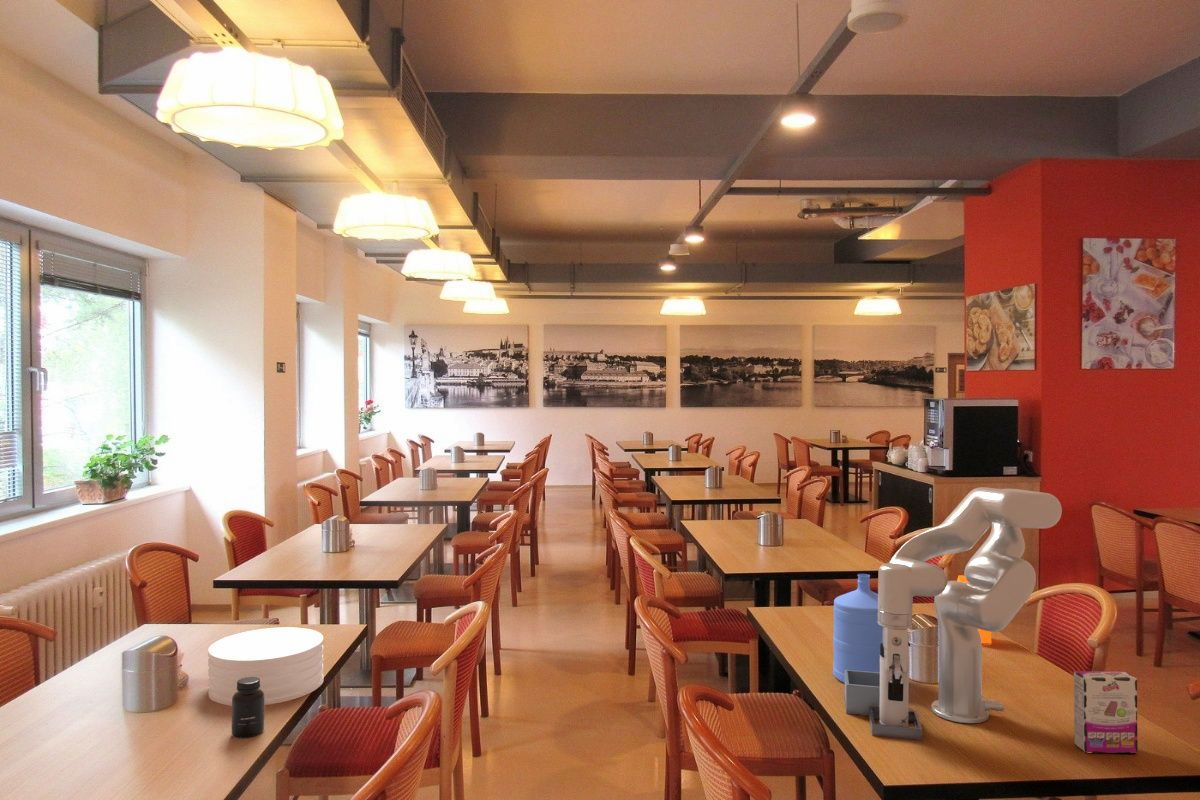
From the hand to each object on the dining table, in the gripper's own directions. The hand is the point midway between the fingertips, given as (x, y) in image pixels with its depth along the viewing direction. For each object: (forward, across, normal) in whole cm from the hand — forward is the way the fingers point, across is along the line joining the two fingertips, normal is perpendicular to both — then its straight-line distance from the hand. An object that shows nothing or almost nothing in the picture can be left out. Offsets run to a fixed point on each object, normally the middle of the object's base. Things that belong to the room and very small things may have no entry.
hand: (893, 692), depth 187 cm
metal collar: (+8, 0, 0) cm, 8 cm away
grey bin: (+8, +12, +4) cm, 15 cm away
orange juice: (+7, +76, -30) cm, 83 cm away
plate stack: (+11, -13, +157) cm, 158 cm away
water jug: (+8, +32, +4) cm, 34 cm away
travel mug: (+8, 0, 0) cm, 9 cm away
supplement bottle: (+11, -39, +142) cm, 148 cm away
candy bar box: (+8, 0, -44) cm, 44 cm away
